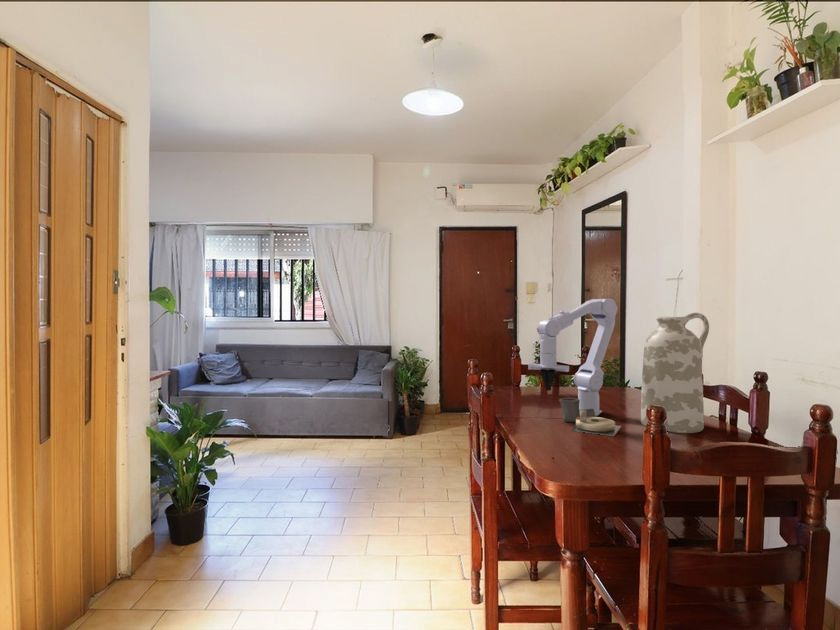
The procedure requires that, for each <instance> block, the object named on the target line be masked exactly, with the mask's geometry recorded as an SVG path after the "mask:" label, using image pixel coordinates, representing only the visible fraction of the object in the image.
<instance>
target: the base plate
mask: <svg viewBox="0 0 840 630" xmlns="http://www.w3.org/2000/svg"><path fill="white" fill-rule="evenodd" d="M621 428H622V425H616V424H615V429H614V430H612V431H605V432H598V431H588V430H584V429H580V428H578V427H576V425H575V426H574V427H573V428H572V429H571V431H570V432H575V431H577V433H583V432H585V434H591V433H592V434H591V435H598V434H600V435H601V436H609V437H615V436H616V435H617V434H618V432H619V431H620V429H621Z"/></svg>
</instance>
